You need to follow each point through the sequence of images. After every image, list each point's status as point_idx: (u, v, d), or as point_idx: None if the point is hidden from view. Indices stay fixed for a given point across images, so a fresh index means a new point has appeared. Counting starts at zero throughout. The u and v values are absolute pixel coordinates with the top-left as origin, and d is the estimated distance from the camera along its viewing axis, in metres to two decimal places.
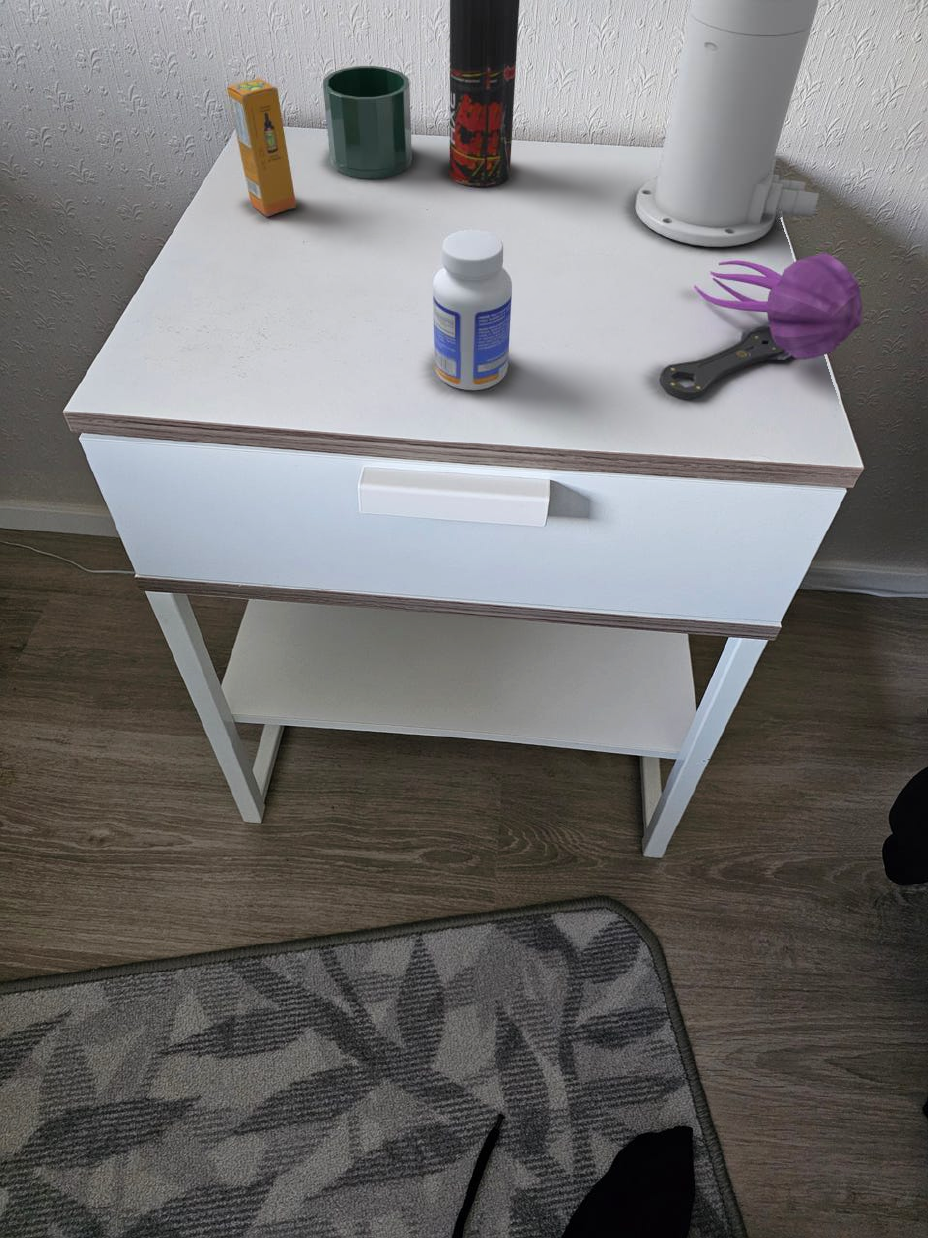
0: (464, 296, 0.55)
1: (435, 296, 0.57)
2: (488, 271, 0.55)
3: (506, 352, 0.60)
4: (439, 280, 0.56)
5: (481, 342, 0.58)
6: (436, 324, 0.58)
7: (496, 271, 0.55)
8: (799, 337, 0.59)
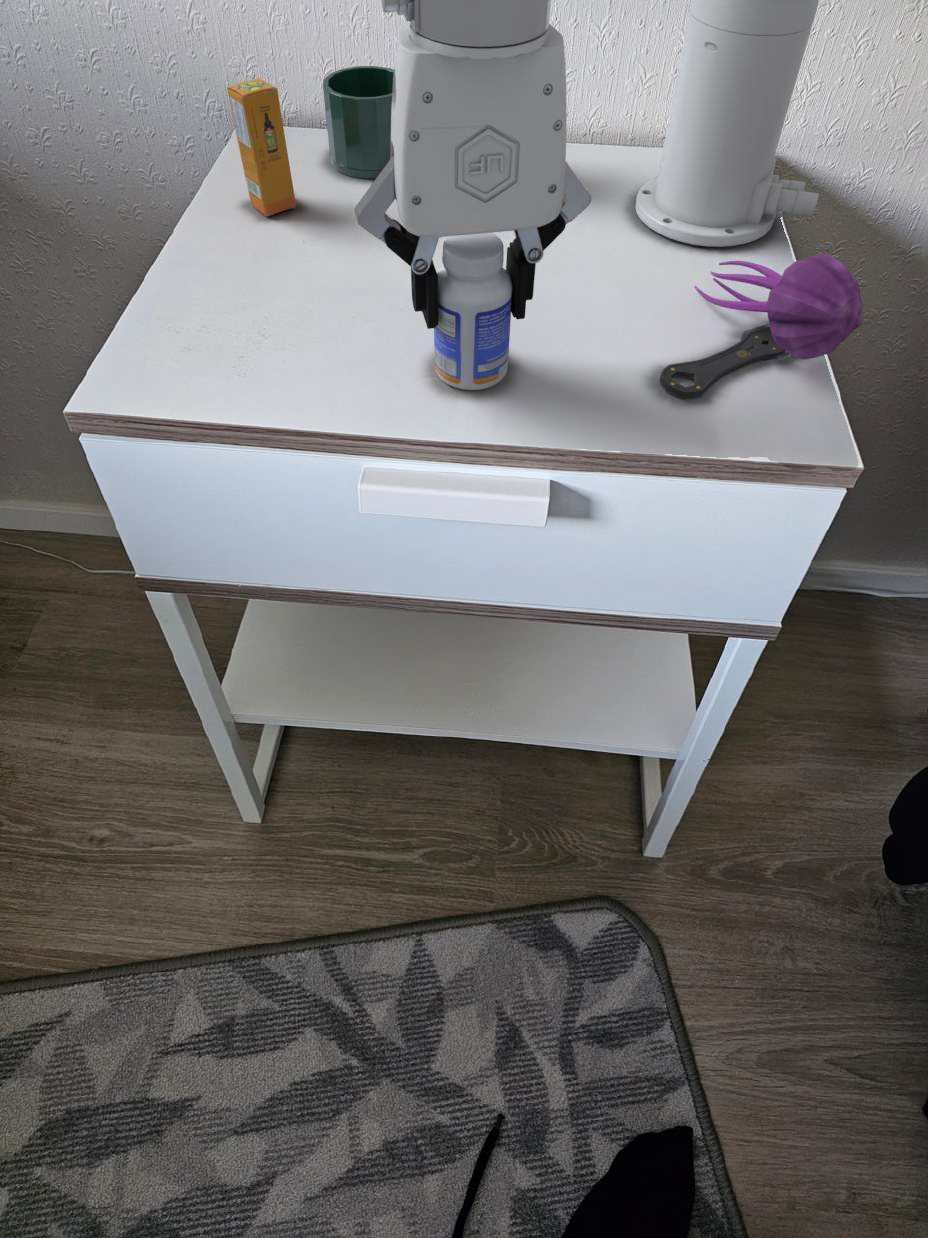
0: (464, 296, 0.55)
1: None
2: (488, 271, 0.55)
3: (506, 352, 0.60)
4: (439, 280, 0.56)
5: (481, 342, 0.58)
6: None
7: (496, 271, 0.55)
8: (799, 337, 0.59)
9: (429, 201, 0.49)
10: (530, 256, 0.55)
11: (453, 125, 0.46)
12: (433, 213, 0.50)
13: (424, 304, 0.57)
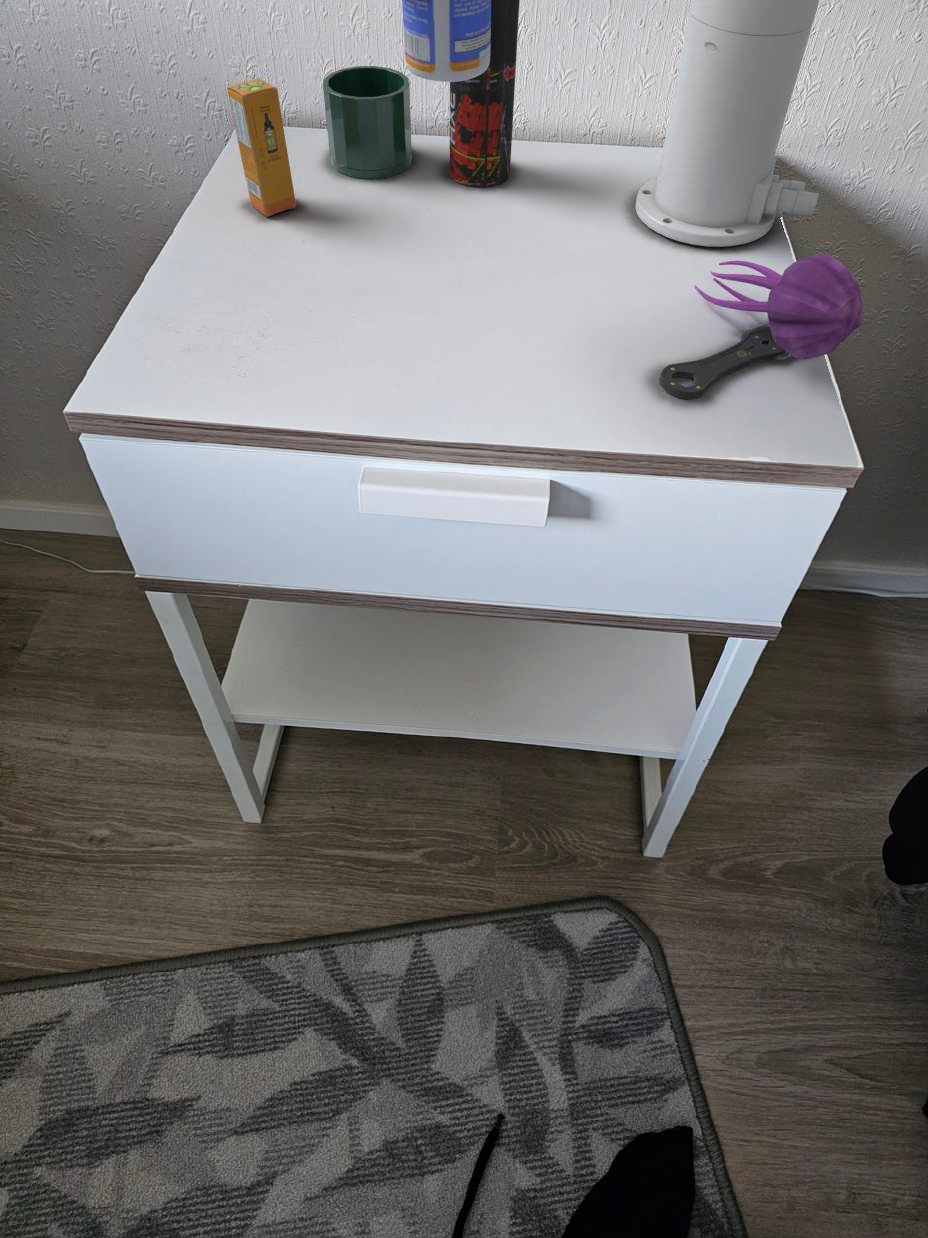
0: None
1: None
2: None
3: (487, 31, 0.52)
4: None
5: (458, 5, 0.49)
6: None
7: None
8: (799, 337, 0.59)
9: None
10: None
11: None
12: None
13: None
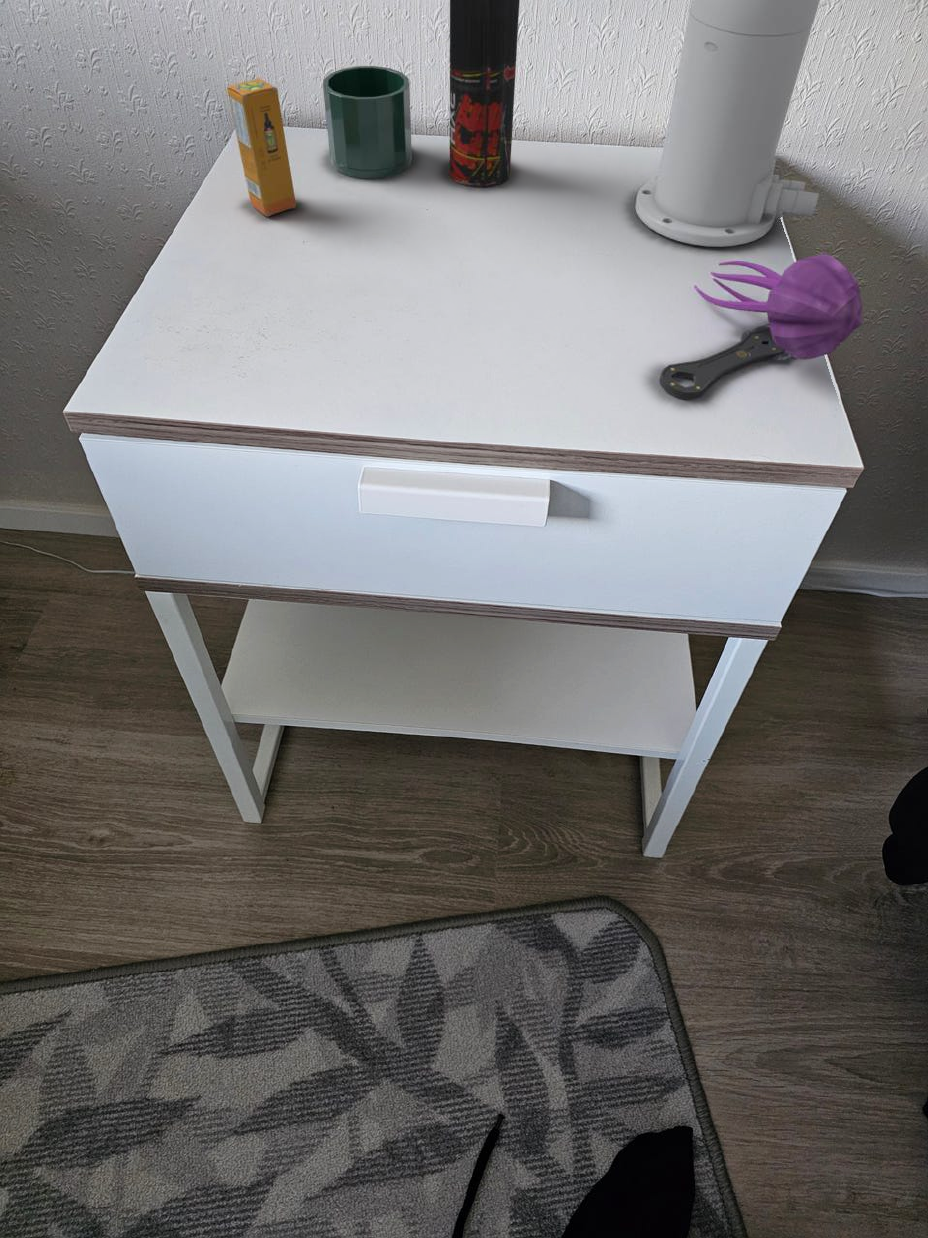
0: None
1: None
2: None
3: None
4: None
5: None
6: None
7: None
8: (799, 337, 0.59)
9: None
10: None
11: None
12: None
13: None
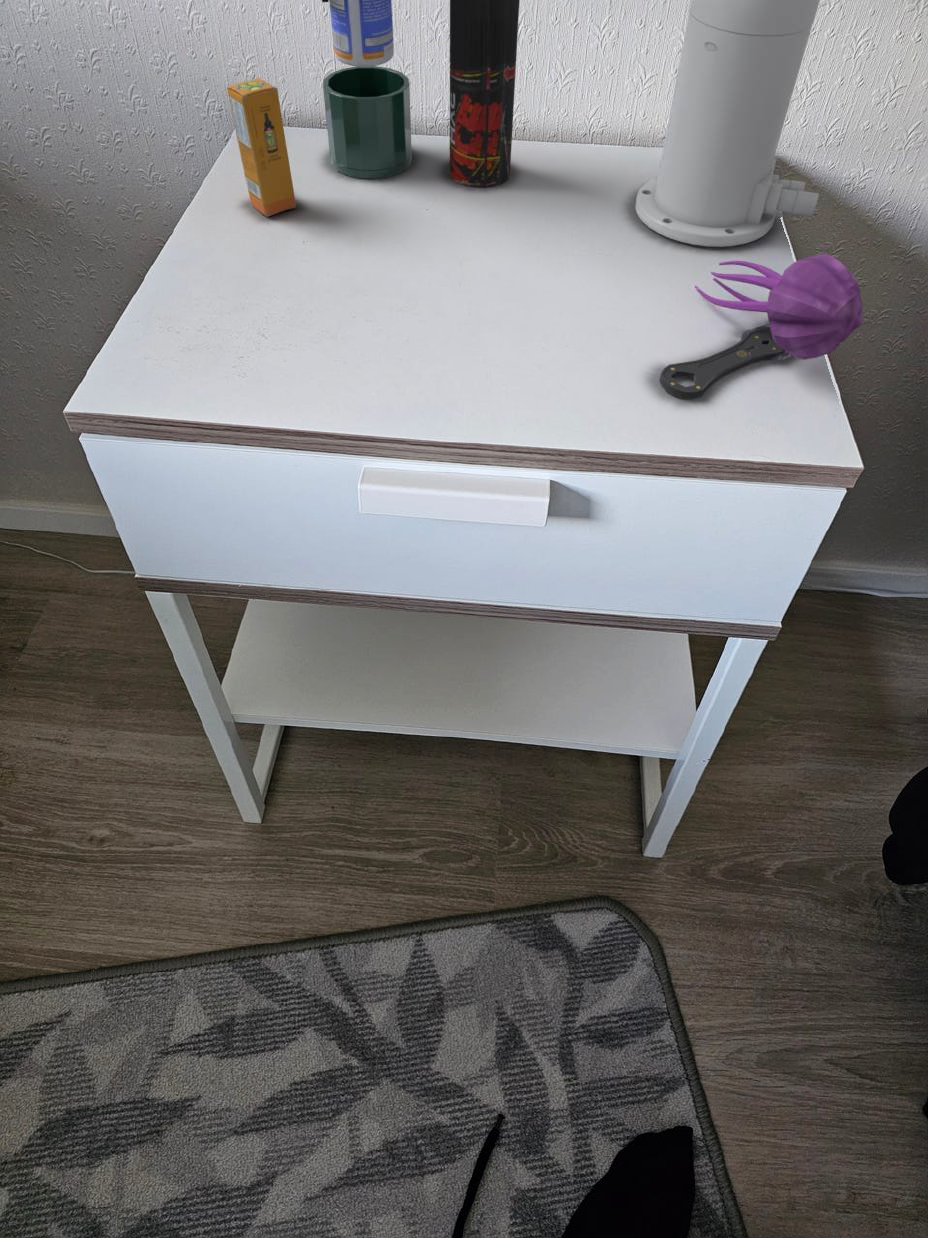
0: None
1: None
2: None
3: (389, 32, 0.75)
4: None
5: (366, 14, 0.72)
6: (330, 2, 0.73)
7: None
8: (799, 337, 0.59)
9: None
10: None
11: None
12: None
13: None
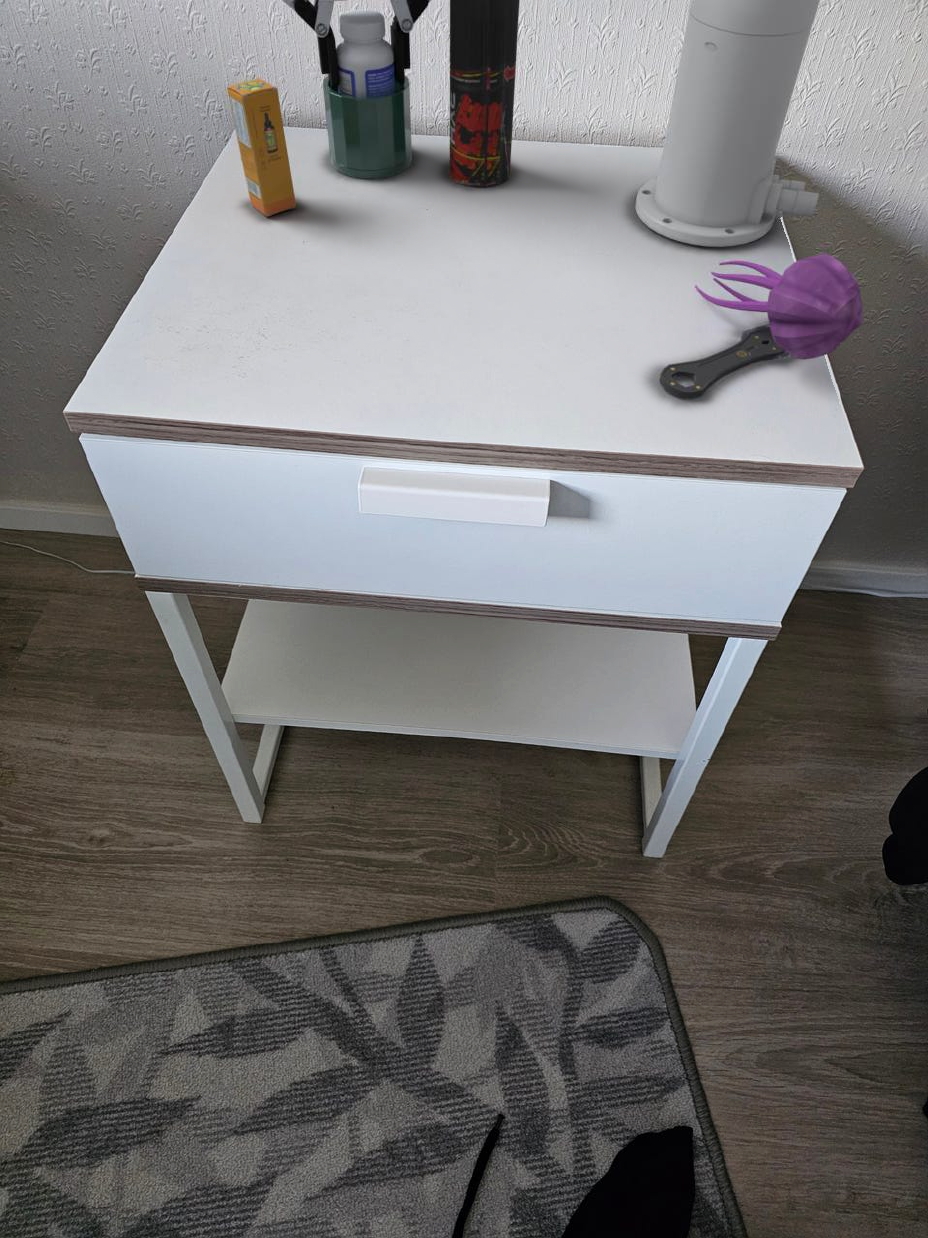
0: (356, 56, 0.75)
1: None
2: (372, 36, 0.74)
3: None
4: (338, 47, 0.76)
5: None
6: (339, 86, 0.78)
7: (379, 37, 0.75)
8: (799, 337, 0.59)
9: None
10: (404, 26, 0.75)
11: None
12: None
13: (328, 66, 0.76)
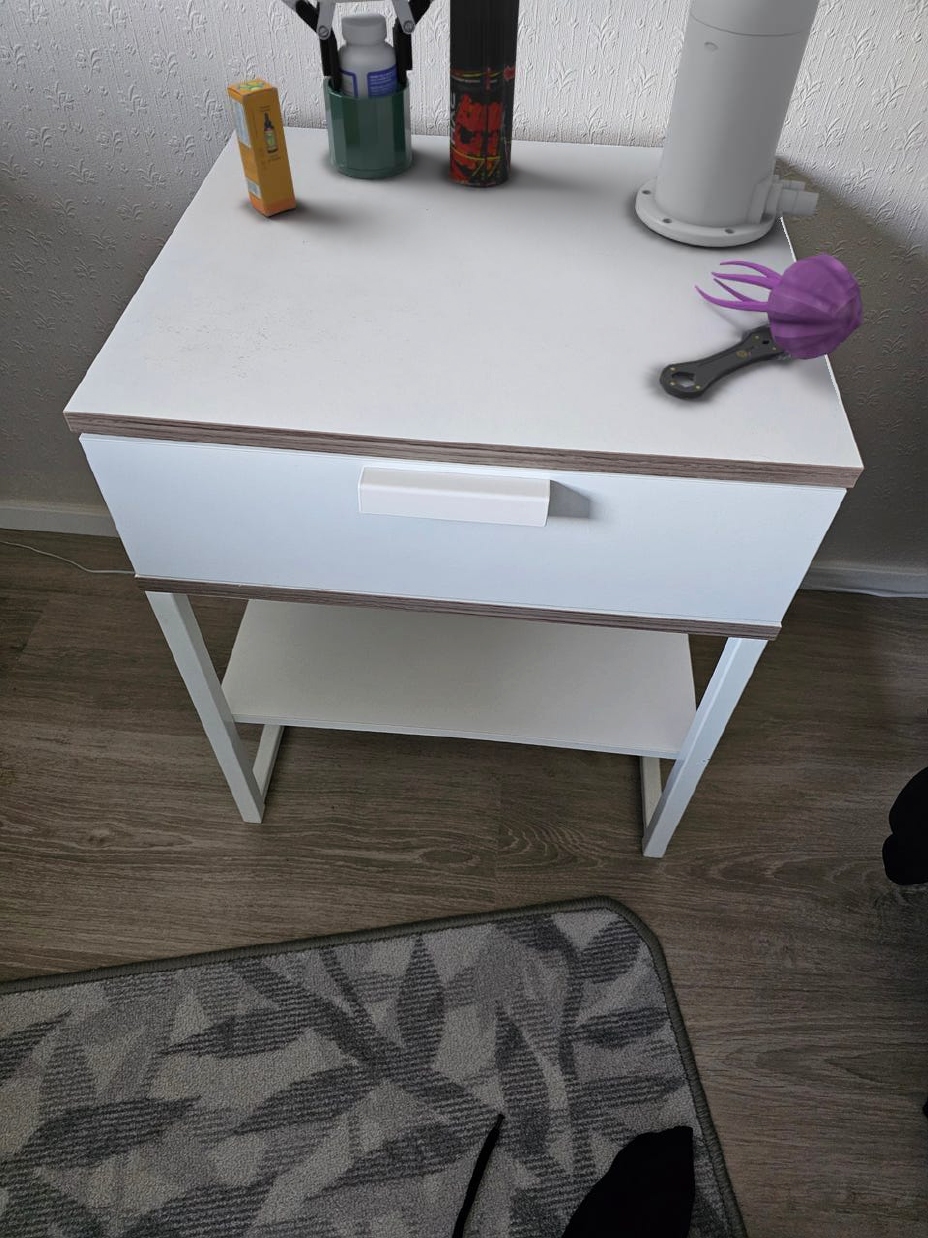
0: (358, 58, 0.75)
1: None
2: (374, 37, 0.74)
3: None
4: (340, 50, 0.76)
5: None
6: (341, 88, 0.78)
7: (381, 39, 0.75)
8: (799, 337, 0.59)
9: None
10: (406, 27, 0.75)
11: None
12: None
13: (330, 68, 0.76)
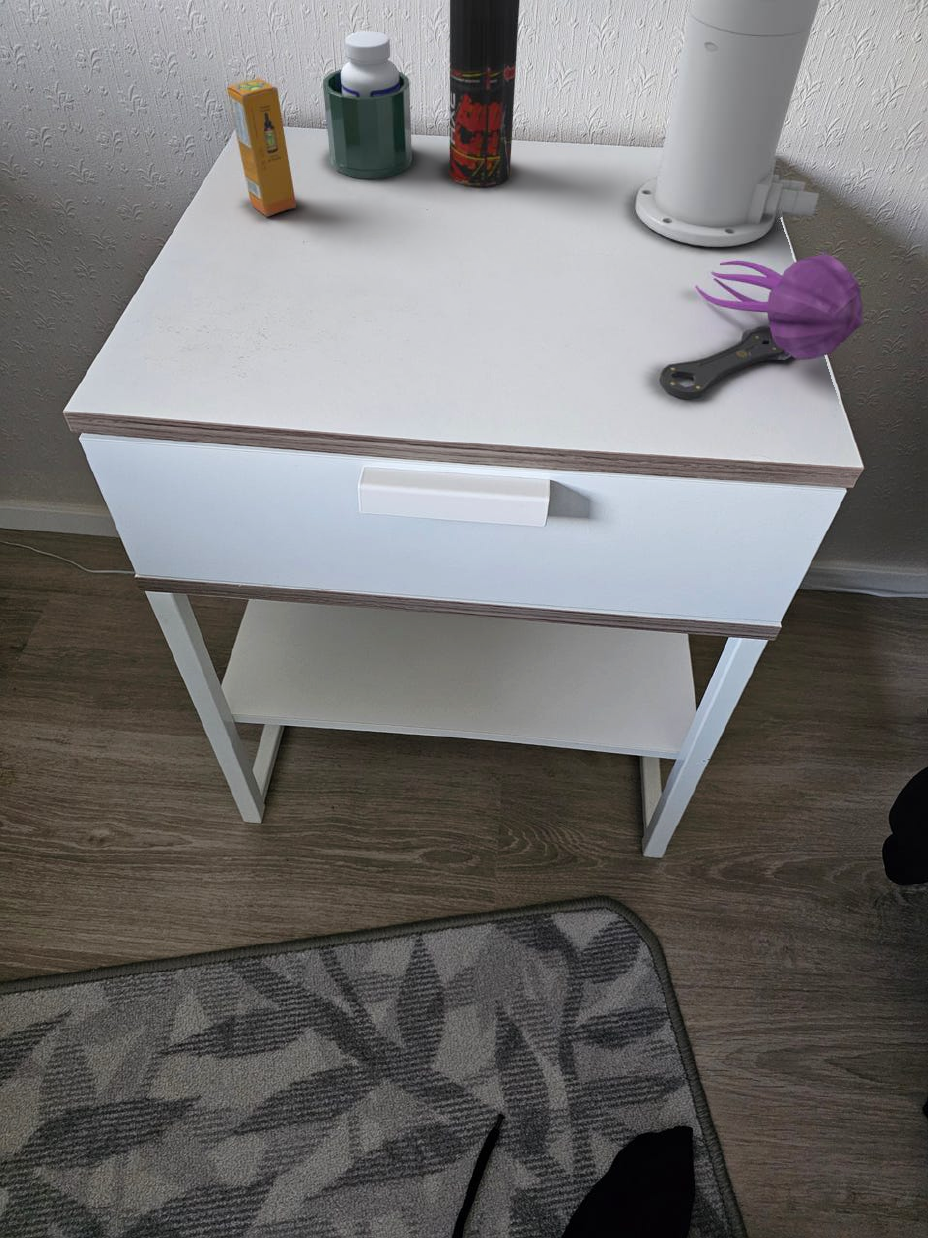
0: (361, 77, 0.76)
1: (342, 81, 0.78)
2: (377, 57, 0.75)
3: None
4: (344, 68, 0.77)
5: None
6: None
7: (384, 58, 0.76)
8: (799, 338, 0.59)
9: None
10: None
11: None
12: None
13: None
